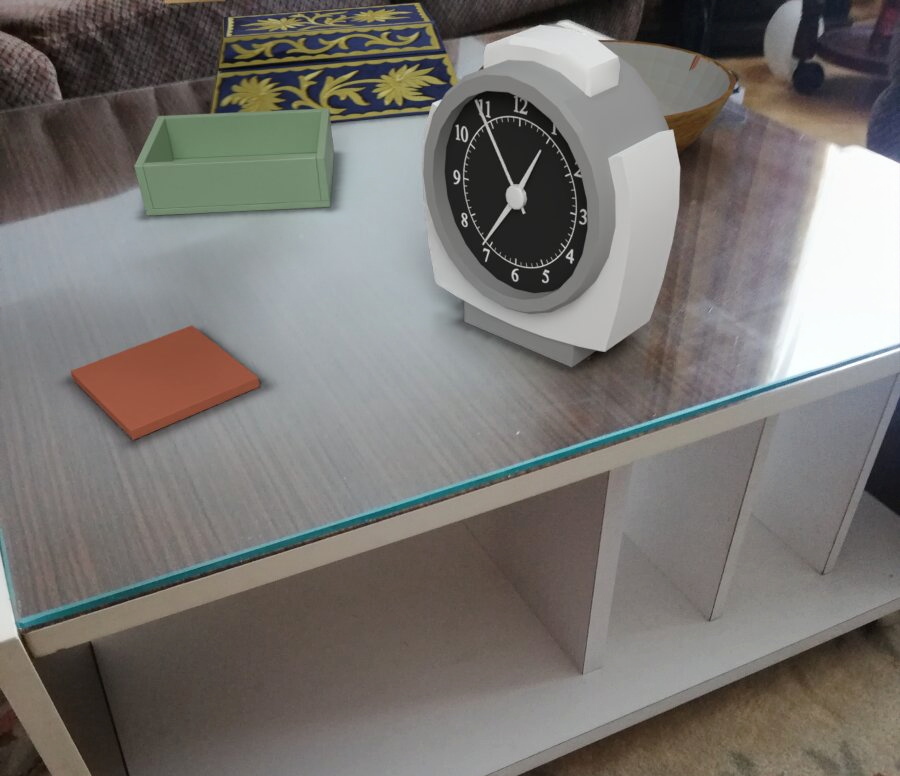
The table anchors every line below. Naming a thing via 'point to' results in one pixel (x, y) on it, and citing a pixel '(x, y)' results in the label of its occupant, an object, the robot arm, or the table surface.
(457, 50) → the table surface
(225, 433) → the table surface
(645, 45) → the bowl
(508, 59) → the alarm clock
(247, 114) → the bin
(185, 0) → the block
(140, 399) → the mat
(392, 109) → the decorative box
